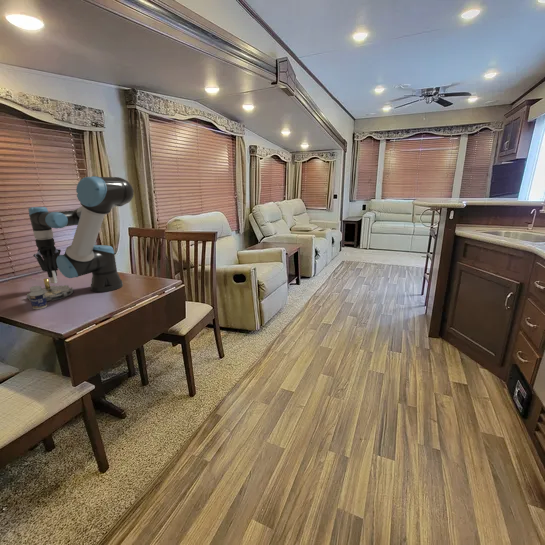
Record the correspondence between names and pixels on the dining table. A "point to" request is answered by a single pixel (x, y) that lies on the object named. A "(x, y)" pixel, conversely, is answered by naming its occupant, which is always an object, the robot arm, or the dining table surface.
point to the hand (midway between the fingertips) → (54, 282)
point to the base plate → (57, 298)
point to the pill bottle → (37, 297)
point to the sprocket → (54, 290)
